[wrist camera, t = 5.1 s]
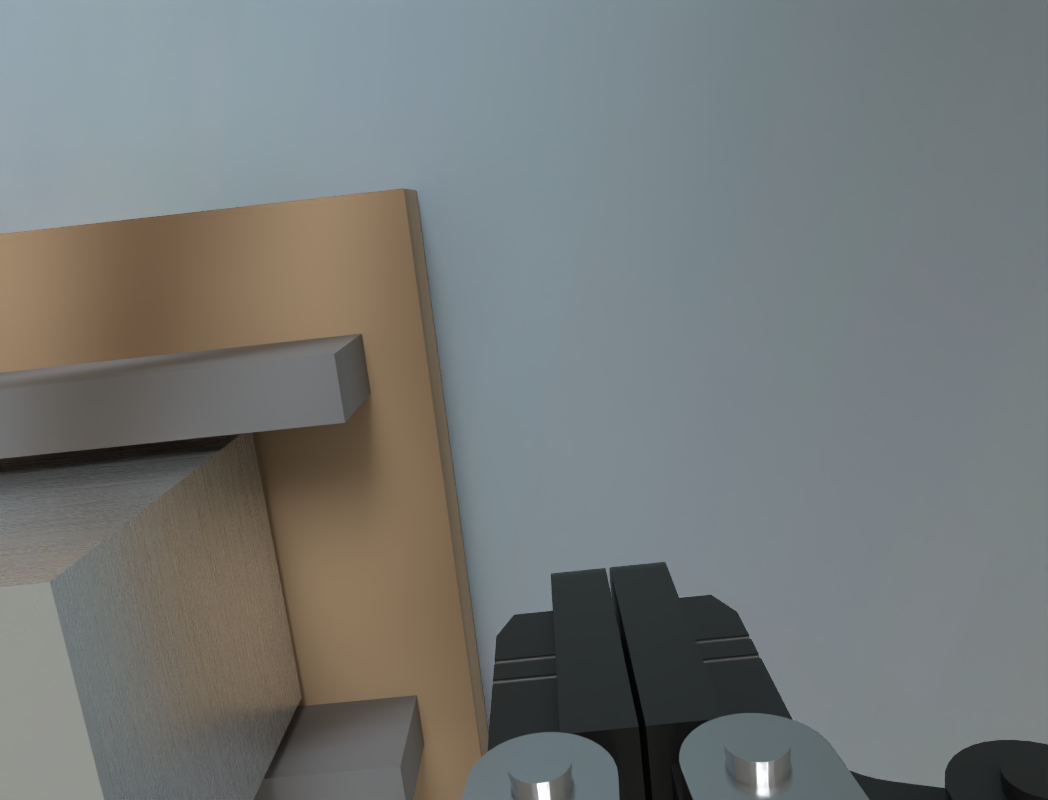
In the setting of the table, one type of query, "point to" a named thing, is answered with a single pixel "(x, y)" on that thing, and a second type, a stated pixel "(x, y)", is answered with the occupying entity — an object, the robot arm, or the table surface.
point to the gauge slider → (140, 624)
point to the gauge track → (283, 447)
